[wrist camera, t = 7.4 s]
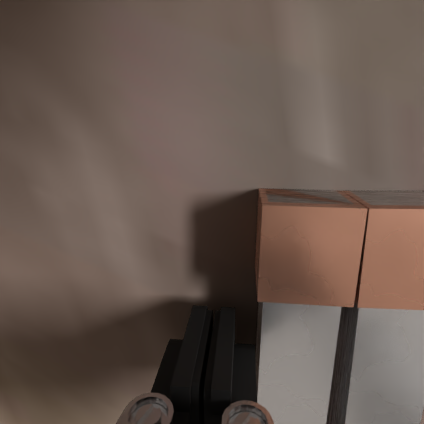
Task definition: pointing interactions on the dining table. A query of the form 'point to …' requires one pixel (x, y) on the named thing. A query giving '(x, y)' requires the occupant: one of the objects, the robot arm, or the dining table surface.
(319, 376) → the arm
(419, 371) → the base
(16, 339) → the dining table surface
